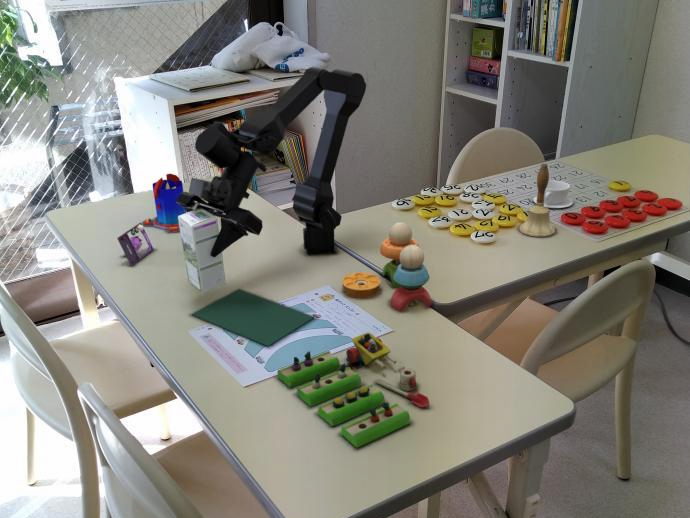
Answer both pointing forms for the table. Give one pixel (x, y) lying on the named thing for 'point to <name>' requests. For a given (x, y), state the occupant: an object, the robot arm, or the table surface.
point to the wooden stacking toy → (395, 271)
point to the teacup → (556, 195)
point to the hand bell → (539, 210)
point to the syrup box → (201, 249)
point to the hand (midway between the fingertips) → (200, 252)
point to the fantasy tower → (167, 203)
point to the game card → (134, 244)
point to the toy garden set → (354, 401)
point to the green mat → (253, 317)
